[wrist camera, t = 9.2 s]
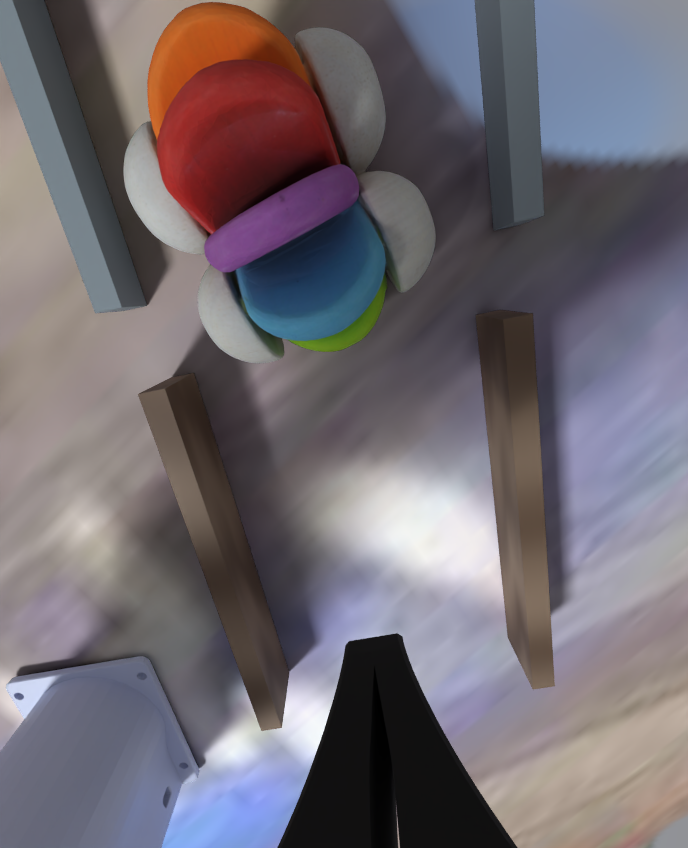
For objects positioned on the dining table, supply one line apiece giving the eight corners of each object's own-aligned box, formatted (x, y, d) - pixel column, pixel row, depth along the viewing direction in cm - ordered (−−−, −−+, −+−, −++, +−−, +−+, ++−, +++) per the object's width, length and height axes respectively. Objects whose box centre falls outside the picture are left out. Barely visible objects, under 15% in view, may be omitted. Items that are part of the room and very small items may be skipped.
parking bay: (519, 224, 16) (544, 215, 14) (123, 310, 17) (95, 313, 15) (488, -263, 12) (516, -370, 10) (-28, -116, 13) (-94, -188, 11)
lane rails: (526, 634, 22) (554, 686, 19) (271, 675, 23) (261, 730, 20) (499, 309, 17) (532, 313, 14) (171, 377, 17) (137, 394, 15)
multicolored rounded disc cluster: (335, 24, 14) (329, -241, 7) (442, 293, 17) (513, 294, 10) (129, 151, 15) (-53, 31, 8) (260, 383, 18) (207, 442, 11)
